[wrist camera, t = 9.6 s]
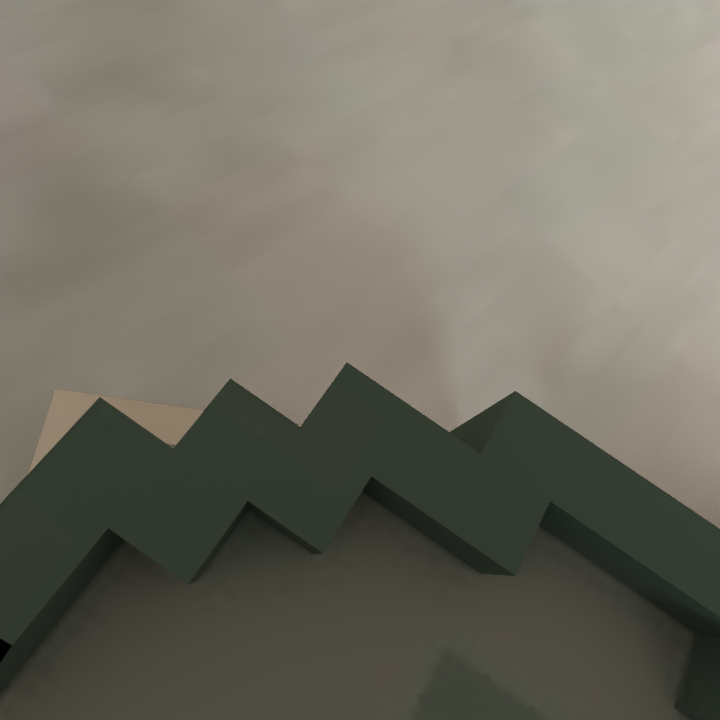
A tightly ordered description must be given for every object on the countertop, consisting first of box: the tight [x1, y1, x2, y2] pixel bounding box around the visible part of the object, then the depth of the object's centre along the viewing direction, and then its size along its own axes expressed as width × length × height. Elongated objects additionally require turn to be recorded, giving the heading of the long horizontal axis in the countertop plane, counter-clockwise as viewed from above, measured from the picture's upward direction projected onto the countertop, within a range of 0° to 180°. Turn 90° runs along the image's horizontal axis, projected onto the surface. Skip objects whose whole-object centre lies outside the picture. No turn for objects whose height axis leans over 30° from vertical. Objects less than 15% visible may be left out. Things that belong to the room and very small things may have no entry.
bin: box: [28, 389, 302, 474], centre depth 14 cm, size 13×13×4 cm
